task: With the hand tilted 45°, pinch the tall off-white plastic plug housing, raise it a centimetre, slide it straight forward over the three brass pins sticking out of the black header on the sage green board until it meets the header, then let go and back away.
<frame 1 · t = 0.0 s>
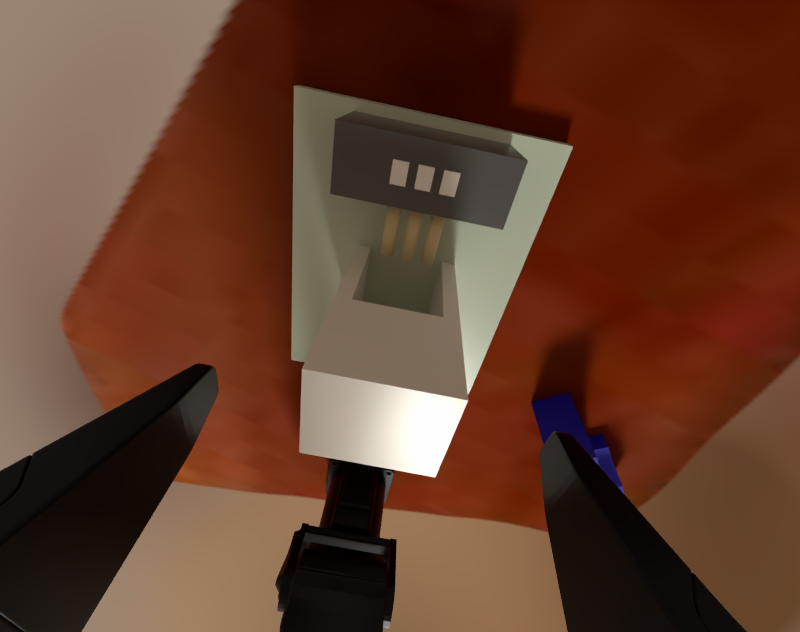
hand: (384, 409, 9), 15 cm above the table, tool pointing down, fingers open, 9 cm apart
plug housing: (399, 289, 23), point 1 cm above the table, touching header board
cable clip: (573, 435, 32), on the table
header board: (403, 269, 23), on the table
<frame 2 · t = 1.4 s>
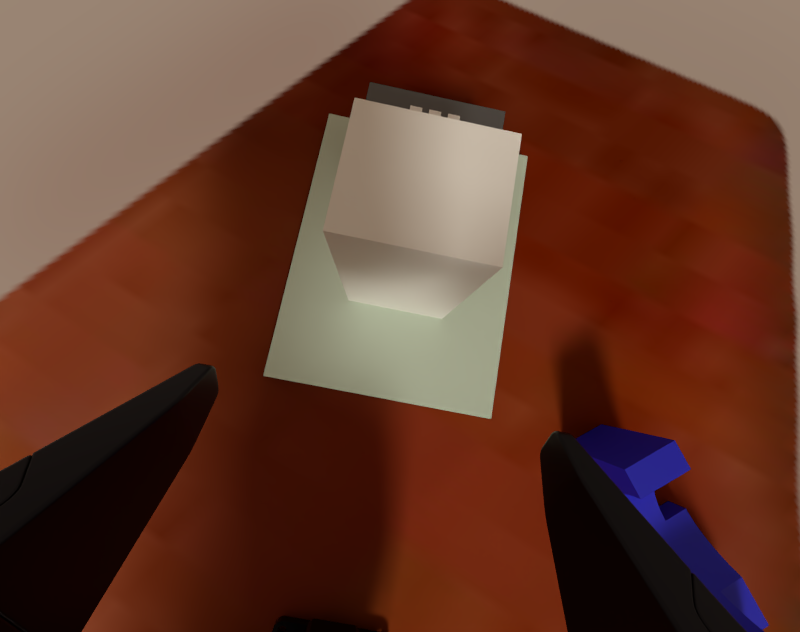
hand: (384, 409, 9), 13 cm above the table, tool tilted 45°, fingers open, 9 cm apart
plug housing: (402, 272, 23), point 1 cm above the table, touching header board
cable clip: (635, 515, 23), on the table
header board: (404, 262, 24), on the table
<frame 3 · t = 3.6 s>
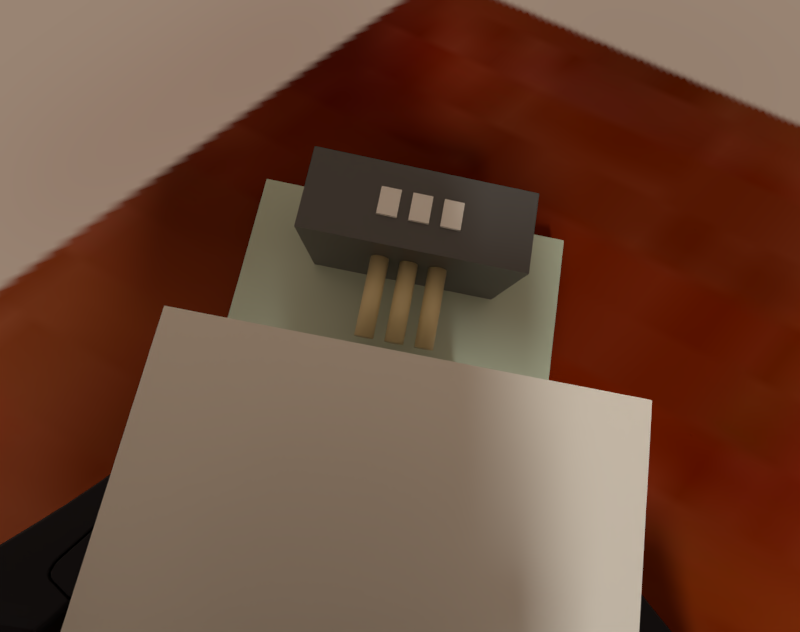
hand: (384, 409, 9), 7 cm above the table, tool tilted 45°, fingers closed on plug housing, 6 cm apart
plug housing: (374, 432, 15), point 1 cm above the table, touching gripper, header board
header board: (379, 405, 16), on the table
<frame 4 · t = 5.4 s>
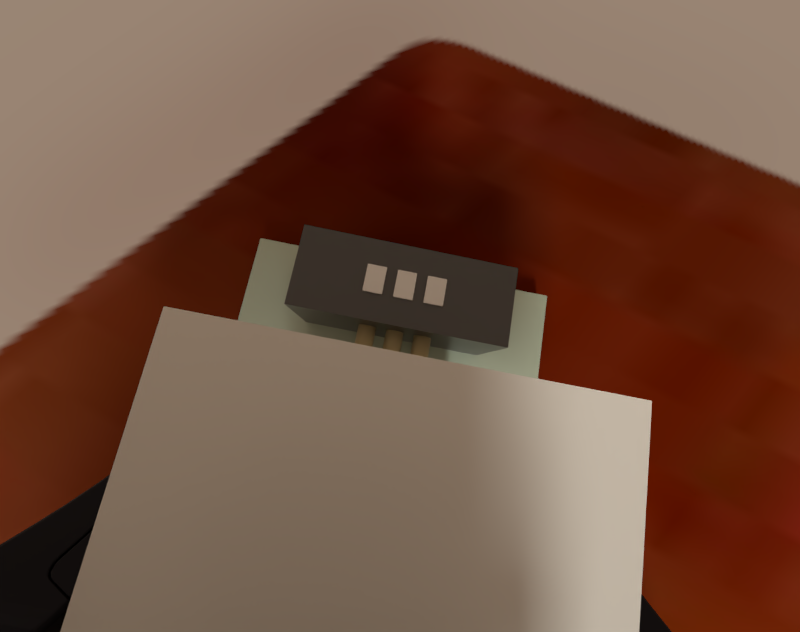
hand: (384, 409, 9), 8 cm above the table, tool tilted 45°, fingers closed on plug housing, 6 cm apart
plug housing: (374, 432, 15), point 2 cm above the table, touching gripper
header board: (368, 458, 16), on the table
when the fingers open (7 cm above the table, at t = 7.0 s): plug housing stays where it is, resting on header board.
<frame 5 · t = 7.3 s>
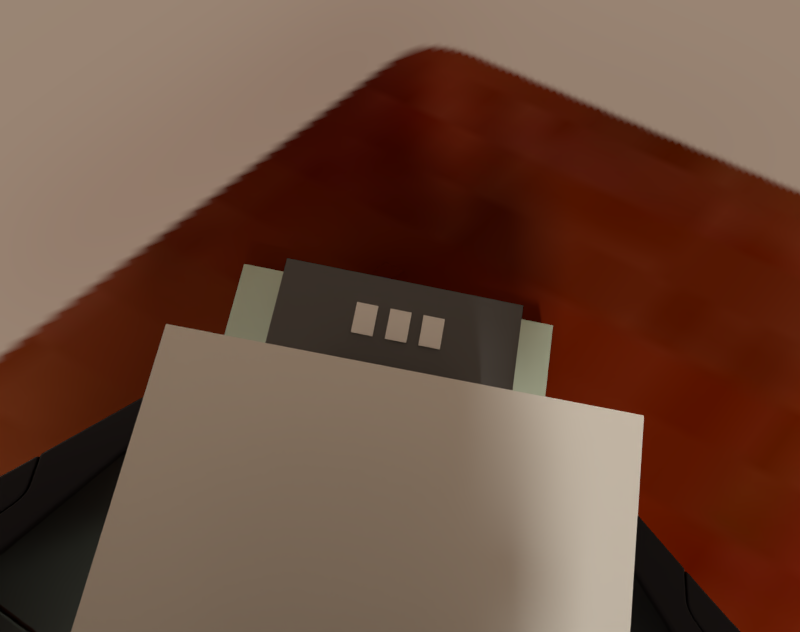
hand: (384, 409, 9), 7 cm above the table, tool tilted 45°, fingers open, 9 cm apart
plug housing: (374, 434, 15), point 1 cm above the table, touching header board
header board: (360, 501, 15), on the table
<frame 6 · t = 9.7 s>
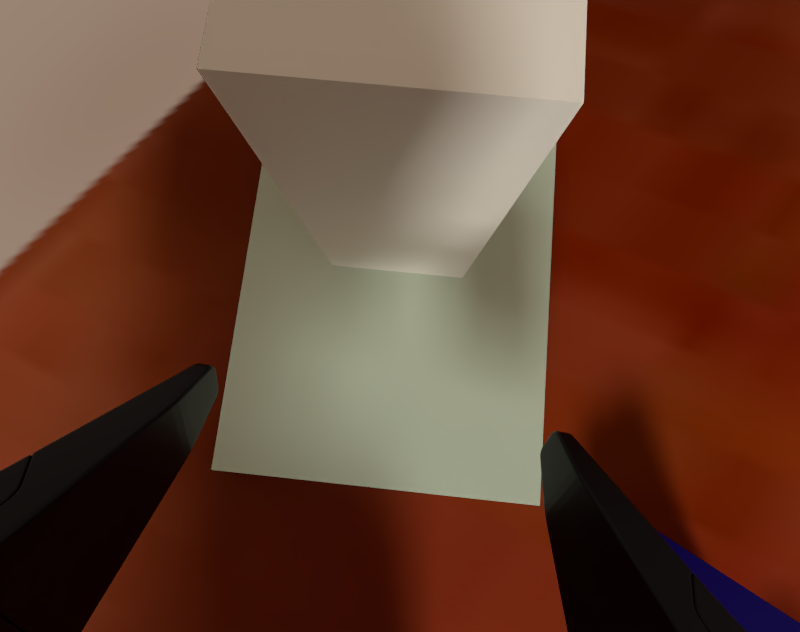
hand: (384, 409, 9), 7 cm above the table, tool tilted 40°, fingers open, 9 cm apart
plug housing: (402, 219, 17), point 1 cm above the table, touching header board
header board: (396, 285, 17), on the table
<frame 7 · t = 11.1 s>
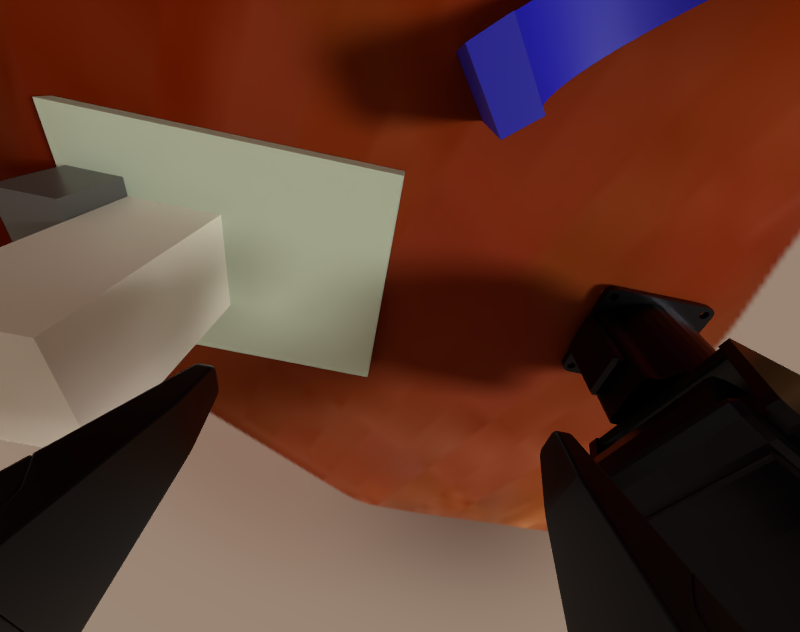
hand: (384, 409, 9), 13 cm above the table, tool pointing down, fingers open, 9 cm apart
plug housing: (183, 255, 21), point 1 cm above the table, touching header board
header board: (241, 257, 22), on the table
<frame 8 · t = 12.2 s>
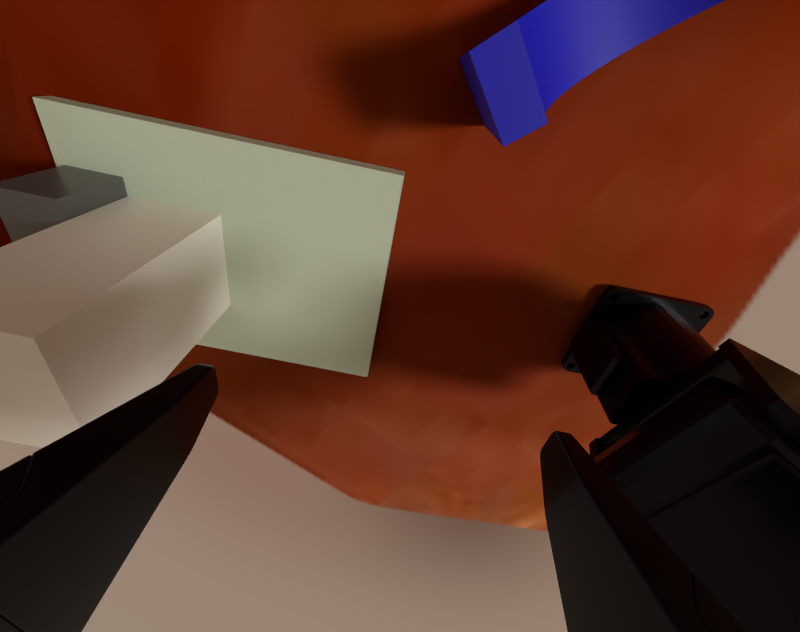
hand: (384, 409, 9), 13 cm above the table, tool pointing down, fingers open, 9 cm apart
plug housing: (183, 255, 21), point 1 cm above the table, touching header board
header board: (240, 258, 22), on the table
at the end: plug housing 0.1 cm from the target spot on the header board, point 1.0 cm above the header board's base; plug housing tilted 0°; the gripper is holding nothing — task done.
